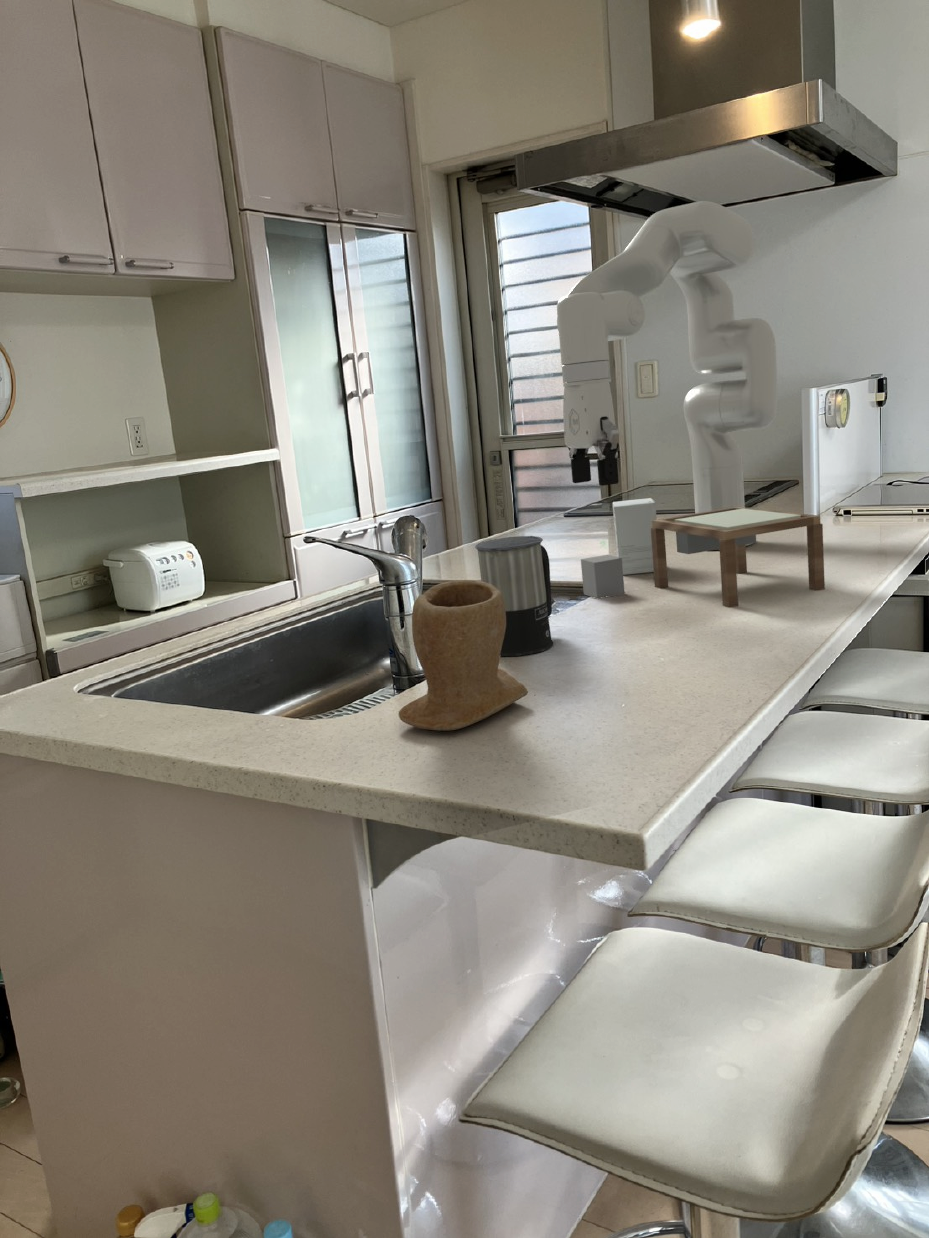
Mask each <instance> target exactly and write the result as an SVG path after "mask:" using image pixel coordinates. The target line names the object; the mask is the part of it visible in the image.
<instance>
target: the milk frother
mask: <svg viewBox="0 0 929 1238" xmlns="http://www.w3.org/2000/svg"><path fill="white" fill-rule="evenodd" d="M543 541H544V540H543V538H542V537H540V536H533V535H528V536H527V535H526V536H525V535H524V536H523V535H521V536H509V537H508V536H507V537H503V538H495V539H490V540H486V541H482V542H478V543H477V544H475V545H474V548H475V549H476V550H477V556H478V563H479V572H480V581H482V582H485V583H488V584H491V585H493V586H494V587H496V588H497V589H498V590H499V591H500V592H501V594H502V597H503V600H504V605H505V612H506V629H505V635H504V639H503V644H502V648H501V653H500V657H518V656H528V655H533V653H534V654H539V653H541V652H544V651H546V650H548V649H550V648H551V647H552V646H553V645H554V640H553V638H552V633H551V627H550V626H551V625H550V619H549V617H550V616H551V615H552V613H553V608H552V607H553V606H552V587H551V586H552V585H551V570H550V569H551V567H550V565H551V564H550V557H549V555H548V551H547V549H546V548H545V547H544V546H543V544H541V543H542V542H543Z"/></svg>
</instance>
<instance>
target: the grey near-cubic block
mask: <svg viewBox="0 0 929 1238" xmlns="http://www.w3.org/2000/svg"><path fill="white" fill-rule="evenodd" d="M580 565H581V566H580V567H581V577H582V578H581V579H582V589H583V595H585V596H588V597H591V598H593V597H595V598H594V599H596V598H598V599H602V598H601V597H604V598H607V597H606V596H609V597H615V596H620V595H625V594H624V593H625V583H624V582H625V581H624V575H623V567H622V558H620V557H617V555H616V556H615V555H611V554H603V555H598V556H591V557H586V558H581V559H580ZM619 594H620V595H619Z"/></svg>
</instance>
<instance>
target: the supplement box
mask: <svg viewBox="0 0 929 1238" xmlns="http://www.w3.org/2000/svg"><path fill="white" fill-rule="evenodd" d="M612 511H613V524H614V533H615V534H614V536H615V537H614V538H615V546H616V548H615V550H616V557H620V558H622V567H623V576H625V575H626V576H627V575H634V574H636V575H637V574H644V573H645V574H646V573H654V568H653V554H652V540H651V528H652V520H658V519H657V508H656V502H655V500H654V499H652V498H651V497H649V498H639V499H630V500H629V499H628V500H621V501H613V502H612Z"/></svg>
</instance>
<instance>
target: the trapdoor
mask: <svg viewBox="0 0 929 1238" xmlns="http://www.w3.org/2000/svg"><path fill="white" fill-rule="evenodd" d="M796 518H801V515H795V514H786V513H777V512H768V511H760V510H751V509H738V510H731V511H725V512H719V513H713V514H706V515H700V516H694V517H688V518H682V519H675V522H679V523H685V524H692V525H699V526H705V527H712V528H718V529H725V530H730V529H736V528H742V527H748V526H754V525H760V524H766V523H772V522H778V521H784V520H790V519H796ZM675 537H676V549H677V550H676V552H677V553H681V554H685V555H692V554H698V553H704V552H710V551H716V549H719V539H717V538H711V537H705V536H699V535H693V534H687V533H681V532H675ZM734 539H735V546H739V545H745V544H751V543H753V544H755V543H757V535H752V536H746V537H740V538H734ZM751 545H752V544H751Z"/></svg>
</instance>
